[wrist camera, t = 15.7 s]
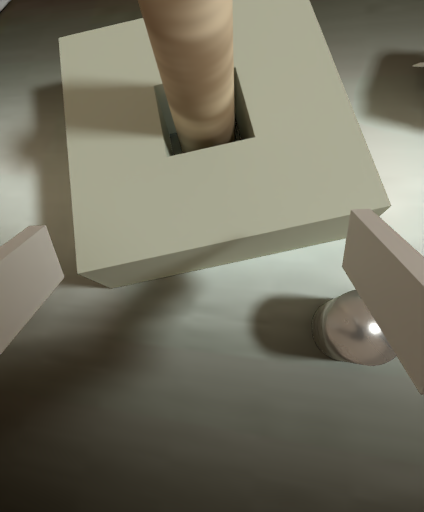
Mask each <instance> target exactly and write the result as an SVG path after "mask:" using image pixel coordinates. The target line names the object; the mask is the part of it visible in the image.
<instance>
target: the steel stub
mask: <svg viewBox="0 0 424 512" xmlns="http://www.w3.org/2000/svg"><path fill="white" fill-rule="evenodd" d="M312 335H313V338H314V340H315V343H316V344H317V346H318V347H319V348H320V350H321V351H322V352H323V353H325V354H326V355H327V356H329V357H331V358H333V359H335V360H338V361H344V362H350V363H356V364H362V365H368V366H375V365H381V364H384V363H387V362H389V361H391V360H392V359H393V358H395V357H396V356H397V355H396V354H395V352H394V351H393V349H392V347H391V346H390V344H389V342H388V341H387V339H386V337H385V336H384V334H383V333H382V331H381V329H380V328H379V326H378V324H377V323H376V321H375V320H374V318H373V316H372V315H371V313H370V311H369V310H368V308H367V307H366V305H365V303H364V302H363V300H362V298H361V297H360V295H359V293H358V292H357V290H353V291H349V292H347V293H345V294H343V295H341V296H338V297H336V298H334V299H332V300H330V301H328V302H326V303H324V304H323V305H321V306H320V307H319V308H318V309H317V311H316V312H315V314H314V316H313V319H312Z"/></svg>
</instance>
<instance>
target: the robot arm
mask: <svg viewBox="0 0 424 512" xmlns="http://www.w3.org/2000/svg"><path fill="white" fill-rule="evenodd" d="M342 267H343V269H344V271H345V272H346V274H347V276H348V277H349V279H350V280H351V282H352V284H353V285H354V287H355V289H356V290H357V292H358V293H359V295H360V297H361V298H362V300H363V302H364V303H365V305H366V307H367V308H368V310H369V311H370V313H371V315H372V316H373V318H374V320H375V321H376V323H377V324H378V326H379V328H380V329H381V331H382V333H383V334H384V336H385V337H386V339H387V341H388V342H389V344H390V346H391V347H392V349H393V351H394V352H395V354H396V355H397V357H398V359H399V360H400V362H401V364H402V365H403V367H404V368H405V370H406V372H407V373H408V375H409V377H410V378H411V380H412V381H413V383H414V385H415V386H416V388H417V390H418V391H419V393H420V394H424V257H423V256H422V255H421V254H420V253H419V252H418V251H417V250H415V249H414V248H413V247H412V246H411V245H410V244H409V243H408V242H407V241H405V240H404V239H403V238H402V237H401V236H400V235H399V234H398V233H397V232H395V231H394V230H393V229H392V228H391V227H390V226H389V225H388V224H387V223H385V222H384V221H383V220H382V219H381V218H380V217H379V216H378V215H377V214H375V213H374V212H373V211H372V210H371V209H352V210H351V212H350V218H349V225H348V231H347V238H346V244H345V251H344V257H343V264H342ZM63 278H64V274H63V272H62V269H61V266H60V263H59V260H58V258H57V255H56V252H55V249H54V247H53V244H52V241H51V238H50V235H49V233H48V230H47V227H46V225H37V226H28V227H27V228H26V229H24V230H23V231H22V232H20V233H19V234H18V235H16V236H15V237H13V238H12V239H11V240H9V241H8V242H7V243H5V244H4V245H3V246H1V247H0V355H1V353H2V352H3V351H4V350H5V348H6V347H7V346H8V345H9V344H10V342H11V341H12V340H13V339H14V338H15V336H16V335H17V334H18V333H19V332H20V330H21V329H22V328H23V327H24V326H25V324H26V323H27V322H28V321H29V319H30V318H31V317H32V316H33V315H34V313H35V312H36V311H37V310H38V309H39V307H40V306H41V305H42V304H43V303H44V301H45V300H46V299H47V298H48V297H49V295H50V294H51V293H52V292H53V291H54V289H55V288H56V287H57V286H58V284H59V283H60V282H61V281H62V280H63Z"/></svg>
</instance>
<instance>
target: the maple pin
mask: <svg viewBox="0 0 424 512" xmlns="http://www.w3.org/2000/svg"><path fill="white" fill-rule="evenodd" d="M138 2H139V5H140V9H141V12H142V16H143V19H144V22H145V26H146V29H147V33H148V36H149V39H150V43H151V46H152V50H153V53H154V56H155V60H156V63H157V67H158V70H159V73H160V77H161V80H162V84H163V87H164V91H165V94H166V97H167V101H168V104H169V108H170V111H171V114H172V118H173V121H174V125H175V128H176V131H177V135H178V138H179V142H180V145H181V148H182V152H183V153H187V152H191V151H196V150H200V149H205V148H209V147H214V146H218V145H222V144H227V143H231V142H235V117H234V59H233V1H232V0H138Z"/></svg>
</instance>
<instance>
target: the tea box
mask: <svg viewBox="0 0 424 512" xmlns="http://www.w3.org/2000/svg"><path fill="white" fill-rule="evenodd" d="M10 1H11V0H0V12H1V10H2V9H3V8H4V7H5V6H6V5H7V4H8V3H9V2H10Z"/></svg>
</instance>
